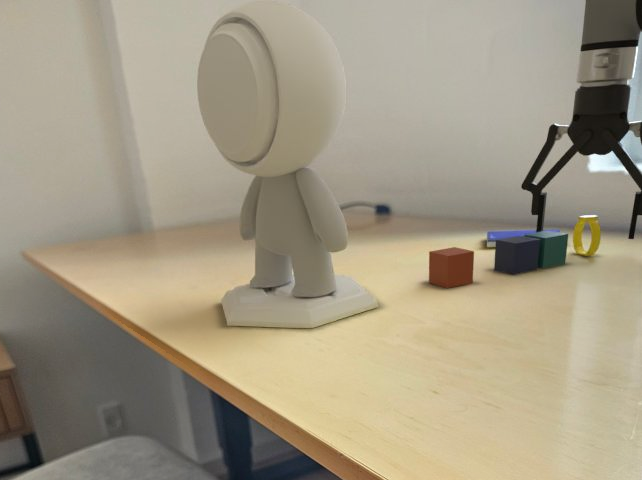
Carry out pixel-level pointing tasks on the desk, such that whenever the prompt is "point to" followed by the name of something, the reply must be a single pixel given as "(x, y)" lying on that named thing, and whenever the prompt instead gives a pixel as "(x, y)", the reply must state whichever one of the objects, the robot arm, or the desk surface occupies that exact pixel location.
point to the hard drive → (507, 235)
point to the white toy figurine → (280, 160)
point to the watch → (594, 237)
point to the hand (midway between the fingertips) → (583, 237)
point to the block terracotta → (451, 267)
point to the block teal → (551, 248)
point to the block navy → (516, 254)
